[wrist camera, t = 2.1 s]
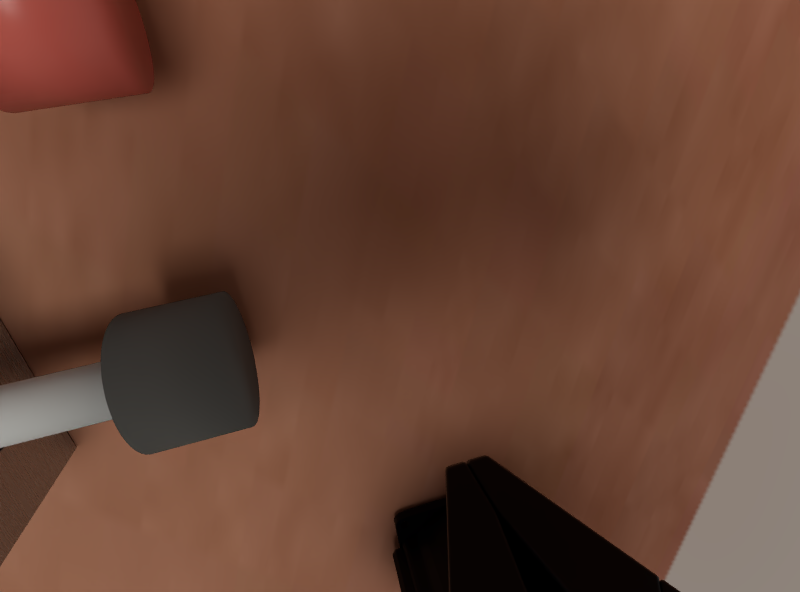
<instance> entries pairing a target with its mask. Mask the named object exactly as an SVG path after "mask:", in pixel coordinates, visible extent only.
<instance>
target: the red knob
mask: <svg viewBox="0 0 800 592" xmlns="http://www.w3.org/2000/svg"><path fill="white" fill-rule="evenodd" d="M153 85H154V69H153V62H152V56H151V51H150V47H149V42H148V39H147V35H146V31H145V28H144V24H143V21H142V18H141V15H140V12H139V9H138V6H137V3H136V0H0V110H1V111H4V112H10V113H18V112H25V111H32V110H39V109H45V108H52V107H59V106H65V105H72V104H79V103H85V102H92V101H99V100H105V99H112V98H118V97H125V96H132V95H138V94H145V93H150V92H151V91H152V89H153Z"/></svg>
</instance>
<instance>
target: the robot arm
mask: <svg viewBox="0 0 800 592" xmlns="http://www.w3.org/2000/svg"><path fill="white" fill-rule="evenodd" d="M445 473H446V498H444V499H441V500H438V501H435V502H432V503H428V504H425V505H422V506H419V507H416V508H412V509H409V510H406V511H403V512H400V513H398V514H397V515H396V516H395V518H394V523H395V528H396V532H397V536H398V541H399V545H400V548H398V549H395V551H394V553H393V558H394V562H395V567H396V571H397V575H398V579H399V584H400V588H401V592H680V591H678V590H677V589H676V588H674V587H673V586H671V585H670V584H669V583H667V582H666V581H664V580H660V581H659V578H658V576H657V575H656V574H654V573H653V572H651V571H650V570H648V569H647V568H646V567H644V566H643V565H641V564H640V563H639V562H637V561H636V560H634V559H633V558H631V557H630V556H629V555H627V554H626V553H624V552H623V551H622V550H620V549H619V548H617V547H616V546H614V545H613V544H612V543H610V542H609V541H607V540H606V539H605V538H603V537H602V536H600V535H599V534H597V533H596V532H595V531H593V530H592V529H590V528H589V527H588V526H586V525H585V524H583V523H582V522H580V521H579V520H578V519H576V518H575V517H573V516H572V515H571V514H569V513H568V512H566V511H565V510H563V509H562V508H561V507H559V506H558V505H556V504H555V503H554V502H552V501H551V500H549V499H548V498H546V497H545V496H544V495H542V494H541V493H539V492H538V491H537V490H535V489H534V488H532V487H531V486H530V485H528V484H527V483H525V482H524V481H522V480H521V479H520V478H518V477H517V476H515V475H514V474H513V473H511V472H510V471H508V470H507V469H505V468H504V467H503V466H501V465H500V464H498V463H497V462H496V461H494V460H493V459H491V458H490V457H488V456H485V455H484V456H480V457H477V458H473V459H470V460H468V461H467V463H465V462H460V463H457V464H454V465H450V466H448V467H446V471H445ZM404 521H405V522H404Z"/></svg>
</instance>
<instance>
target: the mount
mask: <svg viewBox="0 0 800 592" xmlns="http://www.w3.org/2000/svg"><path fill="white" fill-rule="evenodd" d="M30 378H34V375H33V374H32V372H31V370H30V369H29V367H28V365H27V364H26V362H25V360H24V359H23V357H22V355H21V353H20V352H19V350H18V348H17V347H16V345H15V343H14V342H13V340H12V338H11V337H10V335H9V333H8V332H7V330H6V328H5V327H4V325H3V323H2V322H1V320H0V385H4V384H9V383H13V382H17V381H21V380H26V379H30ZM75 450H76V446H75V444H74V443H73V441H72V439H71V438H70V436H69V434H68V432H67V431H65V432H61V433H57V434H53V435H50V436H46V437H42V438H38V439H34V440H30V441H26V442H22V443H18V444H14V445H10V446H6V447H2V448H0V566H1V564H2V563H3V561H4V560H5V558H6V557H7V555H8V554H9V552H10V550H11V549H12V547H13V546H14V544H15V543H16V541H17V540H18V538H19V536H20V535H21V533H22V532H23V530H24V529H25V527H26V526H27V524H28V523H29V521H30V519H31V518H32V516H33V515H34V513H35V512H36V510H37V509H38V507H39V505H40V504H41V502H42V501H43V499H44V498H45V496H46V495H47V493H48V491H49V490H50V488H51V487H52V485H53V484H54V482H55V481H56V479H57V477H58V476H59V474H60V473H61V471H62V470H63V468H64V467H65V465H66V463H67V462H68V460H69V459H70V457H71V456H72V454H73V453H74V451H75Z"/></svg>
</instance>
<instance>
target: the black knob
mask: <svg viewBox="0 0 800 592" xmlns="http://www.w3.org/2000/svg"><path fill="white" fill-rule="evenodd" d="M259 405H260V400H259V385H258V377H257V371H256V365H255V360H254V355H253V351H252V347H251V343H250V339H249V336H248V333H247V330H246V327H245V324H244V321H243V319H242V316H241V314H240V311H239V309H238V307H237V305H236V303H235V302H234V300H233V299H232V297H231V296H230V295H229V294H228V293H227V292H224V291H222V292H218V293H213V294H209V295H204V296H200V297H195V298H191V299H186V300H182V301H177V302H172V303H168V304H163V305H159V306H154V307H150V308H145V309H141V310H136V311H132V312H127V313H123V314H119V315H117V316H116V317H115V318H113V319H112V321H111V322H110V323H109V325H108V327H107V329H106V331H105V335H104V338H103V343H102V349H101V362H98V363H94V364H90V365H85V366H81V367H77V368H72V369H68V370H64V371H60V372H55V373H51V374H47V375H43V376H38V377H34V378H30V379H26V380H21V381H17V382H13V383H9V384H4V385H0V448H2V447H6V446H10V445H14V444H18V443H22V442H26V441H30V440H34V439H38V438H42V437H46V436H50V435H53V434H57V433H61V432H65V431H69V430H73V429H77V428H81V427H85V426H89V425H93V424H97V423H101V422H105V421H108V420H112V419H113V421H114V423H115V425H116V427H117V429H118V431H119V433H120V434H121V436H122V437H123V438H124V440H125V441H126V442H127V443H128V444H129V445H130V446H131V447H132V448H133V449H134V450H136V451H137V452H139V453H142V454H146V455H147V454H154V453H157V452H161V451H165V450H168V449H172V448H176V447H180V446H183V445H187V444H191V443H194V442H198V441H202V440H206V439H209V438H213V437H217V436H220V435H224V434H228V433H232V432H235V431H239V430H243V429H246V428H250V427H253V426H255V425H256V423H257V421H258V416H259Z"/></svg>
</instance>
